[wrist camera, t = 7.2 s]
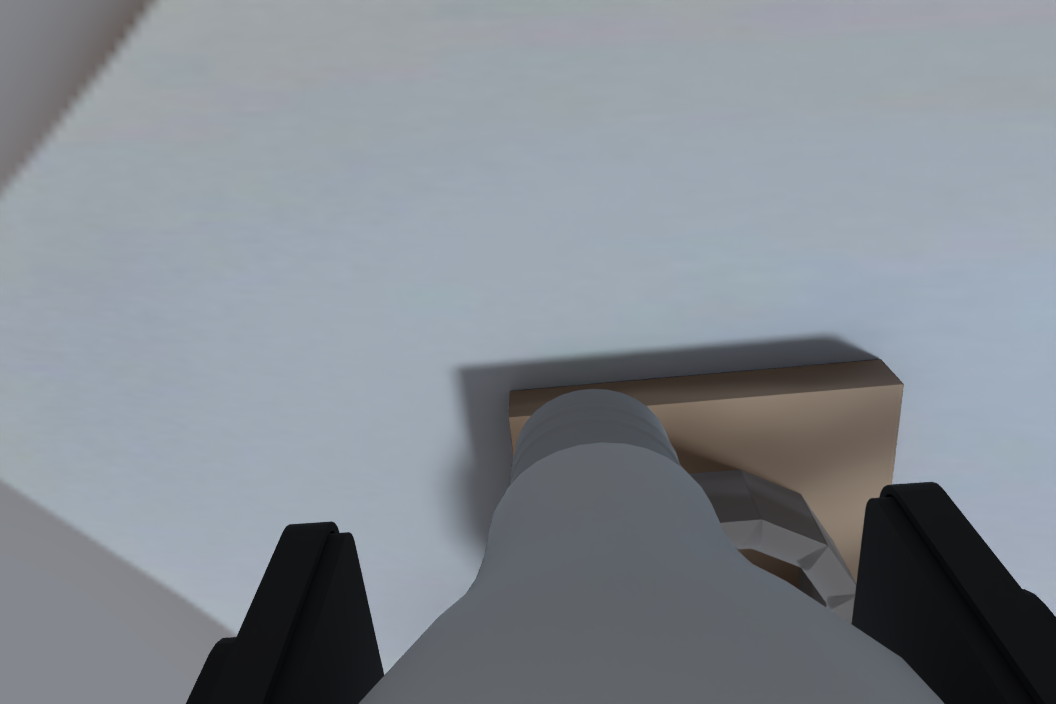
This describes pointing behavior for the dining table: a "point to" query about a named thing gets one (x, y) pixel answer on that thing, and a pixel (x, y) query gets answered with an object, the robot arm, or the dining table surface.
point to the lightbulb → (630, 591)
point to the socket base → (777, 459)
